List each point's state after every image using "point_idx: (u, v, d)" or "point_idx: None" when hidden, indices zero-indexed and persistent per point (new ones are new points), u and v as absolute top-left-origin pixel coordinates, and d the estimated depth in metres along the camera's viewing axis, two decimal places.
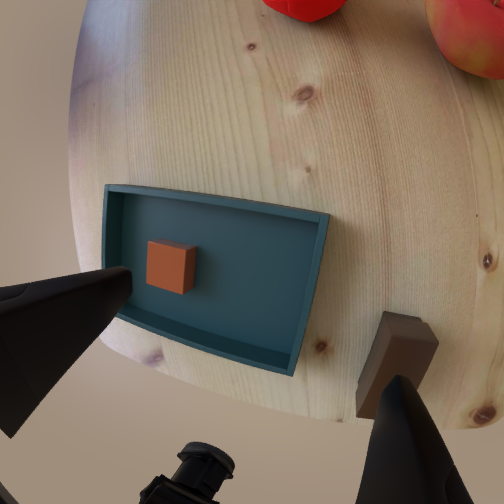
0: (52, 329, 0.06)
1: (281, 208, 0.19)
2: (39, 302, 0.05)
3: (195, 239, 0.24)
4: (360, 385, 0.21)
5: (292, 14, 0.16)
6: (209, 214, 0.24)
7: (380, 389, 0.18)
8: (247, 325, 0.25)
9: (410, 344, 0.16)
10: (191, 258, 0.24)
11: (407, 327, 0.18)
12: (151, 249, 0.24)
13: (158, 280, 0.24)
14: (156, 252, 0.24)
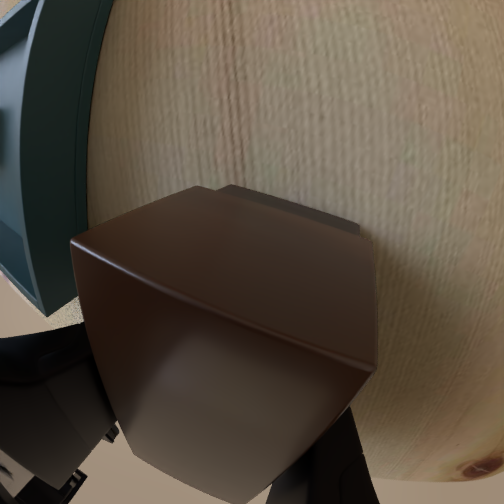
0: None
1: (17, 4, 0.04)
2: None
3: None
4: None
5: None
6: (7, 62, 0.08)
7: (141, 432, 0.05)
8: None
9: (159, 322, 0.03)
10: None
11: (229, 229, 0.04)
12: None
13: None
14: None
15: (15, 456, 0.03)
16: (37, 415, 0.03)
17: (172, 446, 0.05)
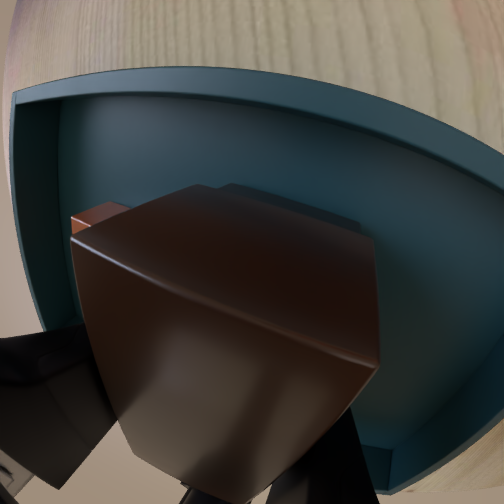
0: None
1: None
2: None
3: None
4: None
5: None
6: (271, 152, 0.07)
7: (142, 431, 0.05)
8: None
9: (159, 319, 0.03)
10: None
11: (230, 226, 0.04)
12: None
13: None
14: None
15: (15, 456, 0.03)
16: (37, 415, 0.03)
17: (173, 446, 0.05)
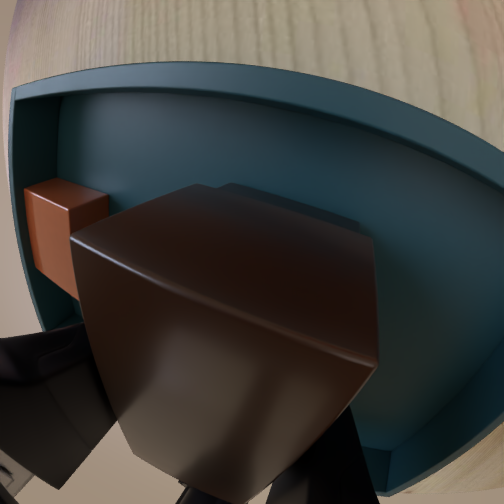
0: None
1: None
2: None
3: None
4: None
5: None
6: (273, 150, 0.07)
7: (141, 431, 0.05)
8: None
9: (158, 318, 0.03)
10: None
11: (229, 226, 0.04)
12: (28, 204, 0.09)
13: (45, 266, 0.10)
14: (34, 211, 0.09)
15: (15, 456, 0.03)
16: (36, 414, 0.03)
17: (172, 445, 0.05)
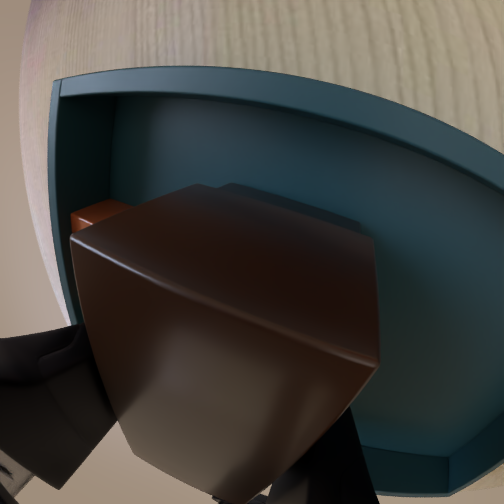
0: None
1: None
2: None
3: None
4: None
5: None
6: (421, 201, 0.06)
7: (142, 431, 0.05)
8: (405, 433, 0.09)
9: (159, 318, 0.03)
10: None
11: (230, 226, 0.04)
12: None
13: None
14: None
15: (15, 456, 0.03)
16: (37, 415, 0.03)
17: (173, 446, 0.05)
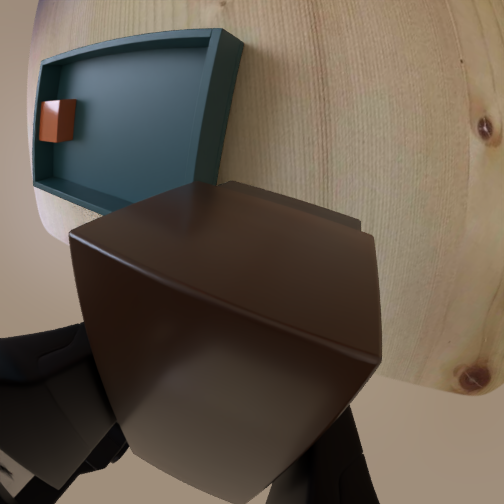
0: None
1: (171, 31, 0.12)
2: None
3: (108, 94, 0.18)
4: None
5: None
6: (121, 65, 0.16)
7: (141, 430, 0.05)
8: (150, 184, 0.19)
9: (158, 314, 0.03)
10: (68, 109, 0.18)
11: (229, 222, 0.04)
12: (42, 107, 0.18)
13: (44, 134, 0.19)
14: (44, 109, 0.18)
15: (15, 456, 0.03)
16: (36, 414, 0.03)
17: (172, 445, 0.05)
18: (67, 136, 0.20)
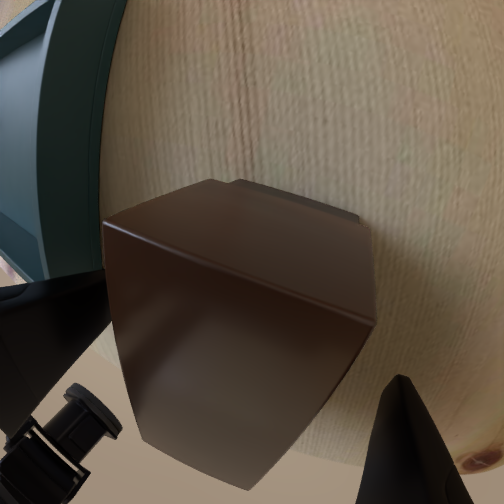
0: (52, 329, 0.06)
1: (30, 5, 0.05)
2: (39, 302, 0.05)
3: (6, 99, 0.10)
4: None
5: None
6: (16, 62, 0.09)
7: (155, 412, 0.06)
8: None
9: (187, 289, 0.04)
10: None
11: (244, 214, 0.05)
12: None
13: None
14: None
15: None
16: None
17: (185, 424, 0.05)
18: None
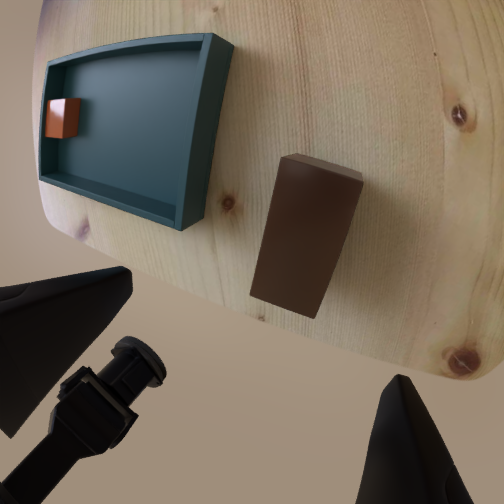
0: (52, 329, 0.06)
1: (168, 36, 0.13)
2: (39, 302, 0.05)
3: (111, 93, 0.19)
4: None
5: None
6: (123, 67, 0.18)
7: (276, 251, 0.15)
8: (150, 175, 0.21)
9: (312, 177, 0.12)
10: (73, 107, 0.20)
11: (319, 162, 0.14)
12: (48, 106, 0.20)
13: (50, 131, 0.21)
14: (50, 107, 0.20)
15: None
16: None
17: (293, 252, 0.14)
18: (72, 132, 0.21)
